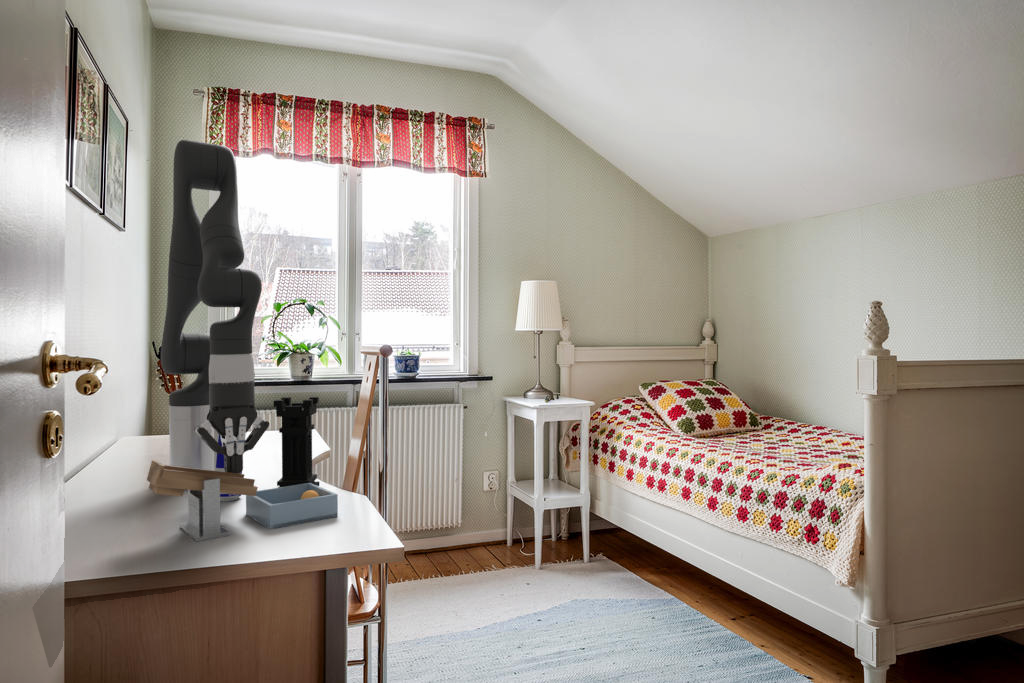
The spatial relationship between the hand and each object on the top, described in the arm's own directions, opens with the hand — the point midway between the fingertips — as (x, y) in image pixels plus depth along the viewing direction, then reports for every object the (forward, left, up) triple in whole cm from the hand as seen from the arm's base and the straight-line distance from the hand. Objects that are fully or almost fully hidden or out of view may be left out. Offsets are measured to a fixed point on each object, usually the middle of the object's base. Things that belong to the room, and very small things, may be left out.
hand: (233, 475), depth 120 cm
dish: (+5, +8, -8) cm, 13 cm away
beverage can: (-15, +3, -8) cm, 17 cm away
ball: (+5, +12, -5) cm, 14 cm away
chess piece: (-7, +14, -8) cm, 18 cm away
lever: (+3, -7, -1) cm, 8 cm away
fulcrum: (+5, -7, -8) cm, 11 cm away
